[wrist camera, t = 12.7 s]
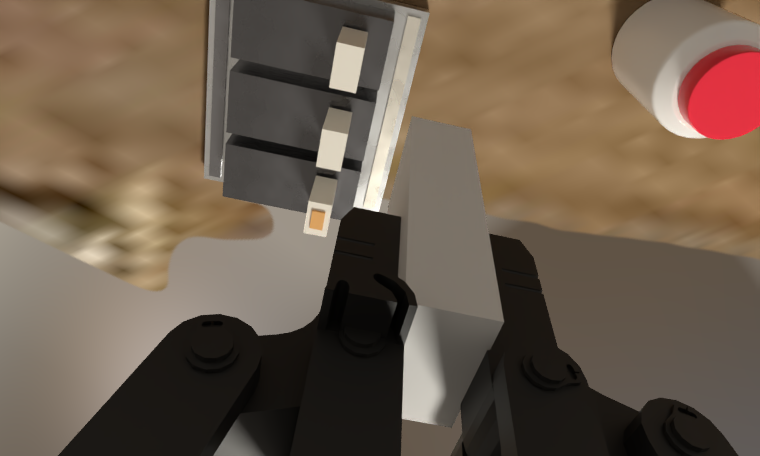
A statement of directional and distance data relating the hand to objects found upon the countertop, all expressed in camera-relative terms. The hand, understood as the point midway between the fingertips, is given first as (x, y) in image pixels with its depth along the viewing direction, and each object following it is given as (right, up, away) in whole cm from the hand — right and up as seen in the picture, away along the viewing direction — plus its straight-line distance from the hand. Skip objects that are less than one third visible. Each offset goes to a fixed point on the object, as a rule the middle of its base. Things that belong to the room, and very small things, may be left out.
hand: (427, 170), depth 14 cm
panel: (-7, +9, +31) cm, 33 cm away
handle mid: (-5, +6, +27) cm, 28 cm away
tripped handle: (-6, +1, +31) cm, 31 cm away
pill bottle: (+21, +13, +27) cm, 37 cm away
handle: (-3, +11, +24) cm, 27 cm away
